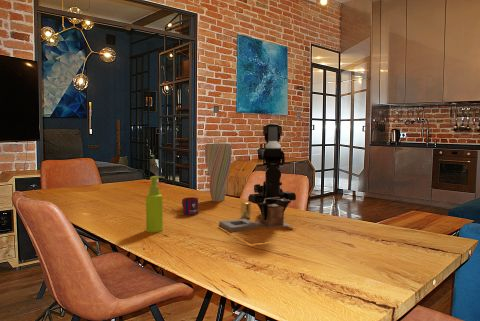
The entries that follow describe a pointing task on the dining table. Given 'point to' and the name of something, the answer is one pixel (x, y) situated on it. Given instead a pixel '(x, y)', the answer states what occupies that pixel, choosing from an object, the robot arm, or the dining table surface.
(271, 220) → the box
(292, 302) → the dining table surface
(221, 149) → the vase
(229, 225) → the socket board
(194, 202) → the mug
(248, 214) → the pin
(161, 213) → the soap dispenser
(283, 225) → the board
